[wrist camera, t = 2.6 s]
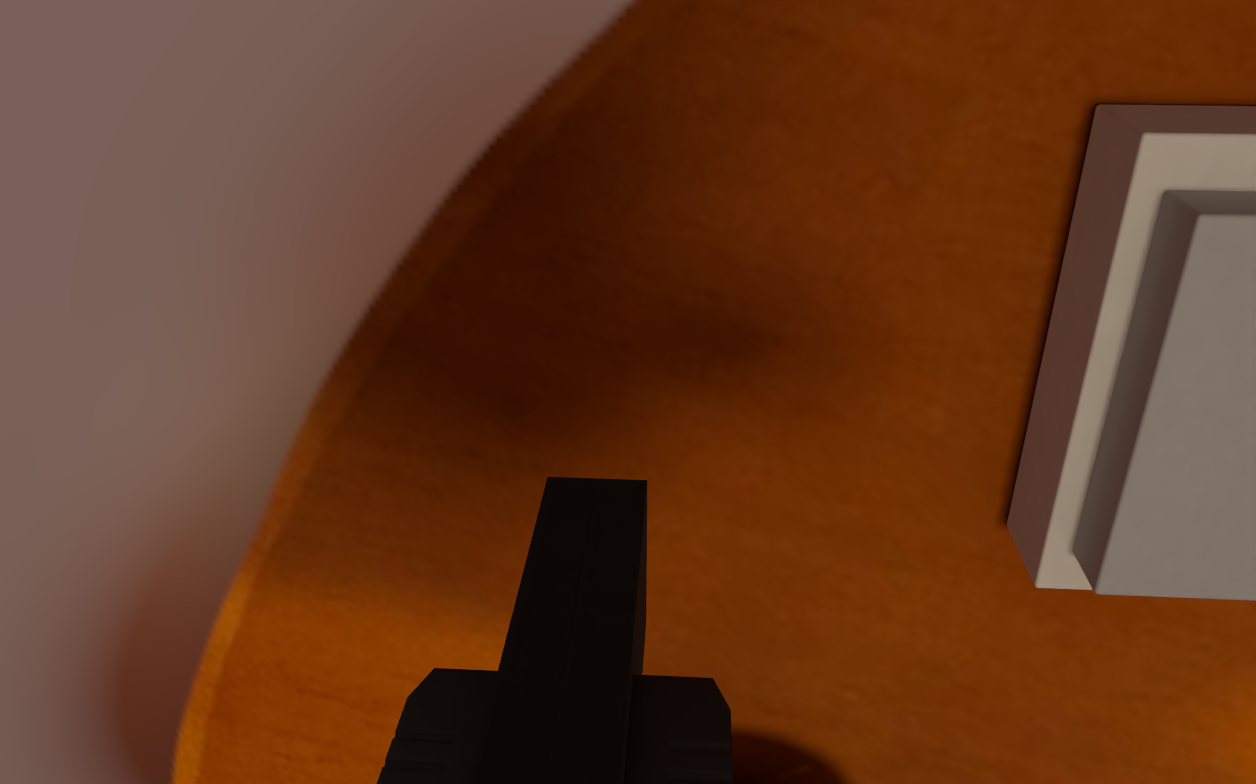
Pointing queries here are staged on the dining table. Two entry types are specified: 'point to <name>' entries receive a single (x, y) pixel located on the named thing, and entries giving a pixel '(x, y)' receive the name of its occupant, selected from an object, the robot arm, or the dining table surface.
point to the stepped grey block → (1150, 367)
